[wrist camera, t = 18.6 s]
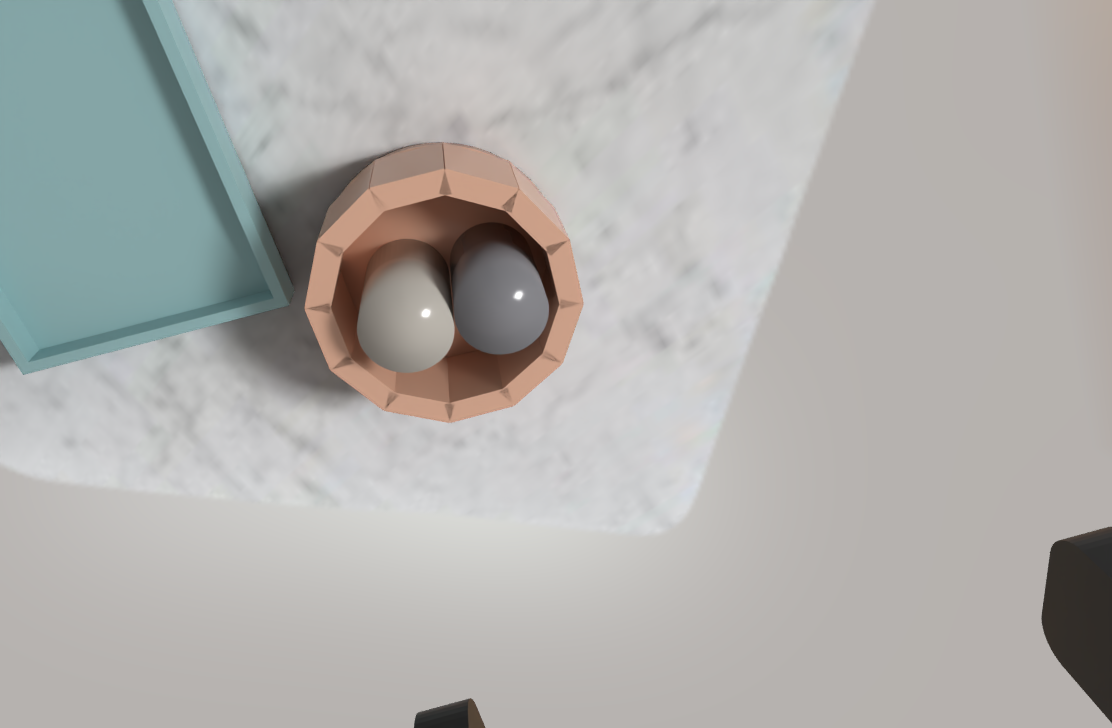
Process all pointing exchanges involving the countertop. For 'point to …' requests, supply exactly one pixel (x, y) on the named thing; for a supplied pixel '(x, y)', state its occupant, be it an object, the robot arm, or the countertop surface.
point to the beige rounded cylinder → (406, 307)
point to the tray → (118, 187)
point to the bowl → (439, 219)
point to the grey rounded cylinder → (496, 289)
